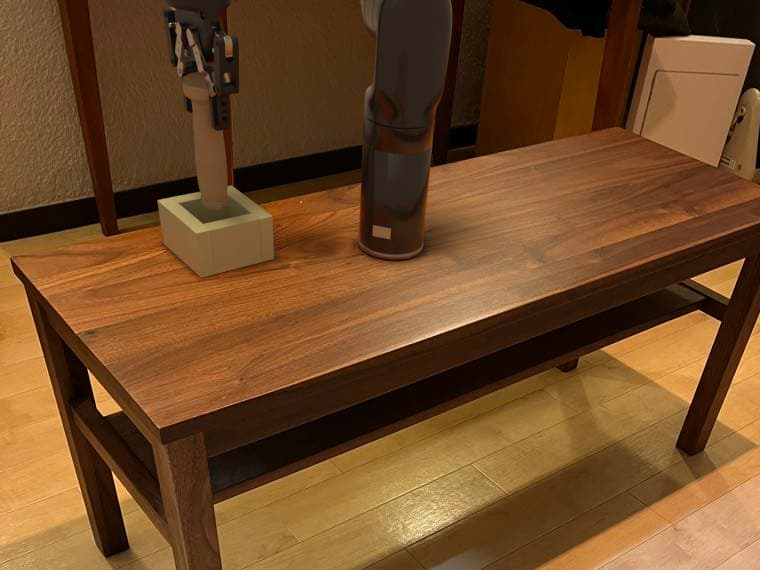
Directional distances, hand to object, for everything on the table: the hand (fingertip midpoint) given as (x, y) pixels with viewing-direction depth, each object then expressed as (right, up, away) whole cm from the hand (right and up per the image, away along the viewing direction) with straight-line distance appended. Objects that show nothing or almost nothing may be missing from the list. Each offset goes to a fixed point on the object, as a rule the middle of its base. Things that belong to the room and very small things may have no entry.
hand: (207, 119), depth 97 cm
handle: (-1, -8, +8) cm, 11 cm away
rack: (-1, -12, +12) cm, 17 cm away
